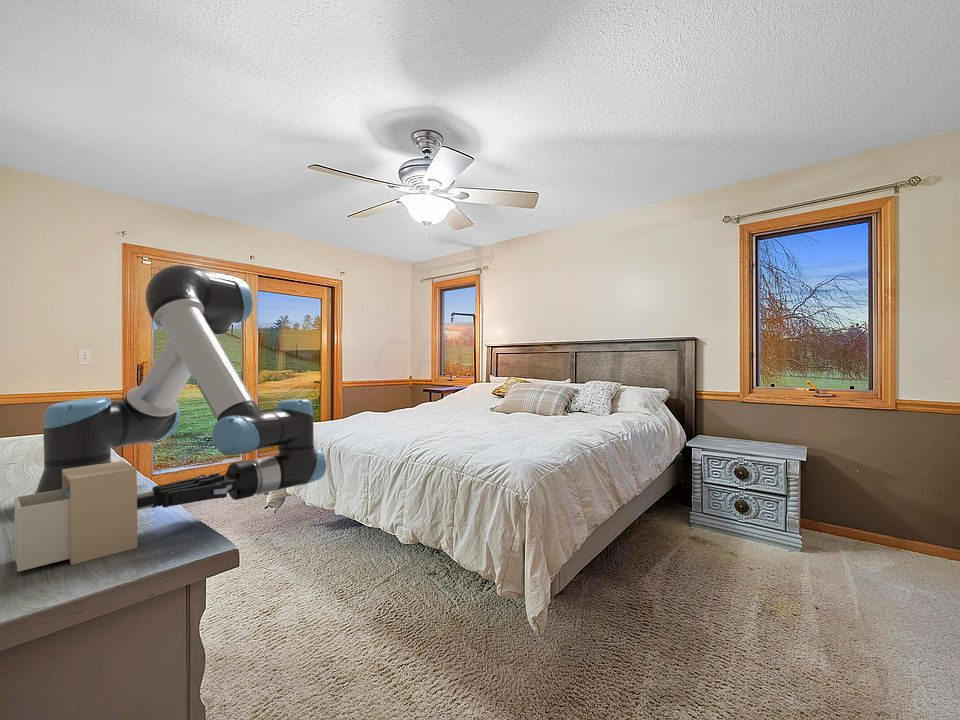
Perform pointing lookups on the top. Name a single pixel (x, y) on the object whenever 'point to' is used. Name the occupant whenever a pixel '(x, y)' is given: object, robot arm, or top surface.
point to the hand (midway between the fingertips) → (105, 507)
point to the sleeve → (101, 509)
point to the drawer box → (42, 528)
